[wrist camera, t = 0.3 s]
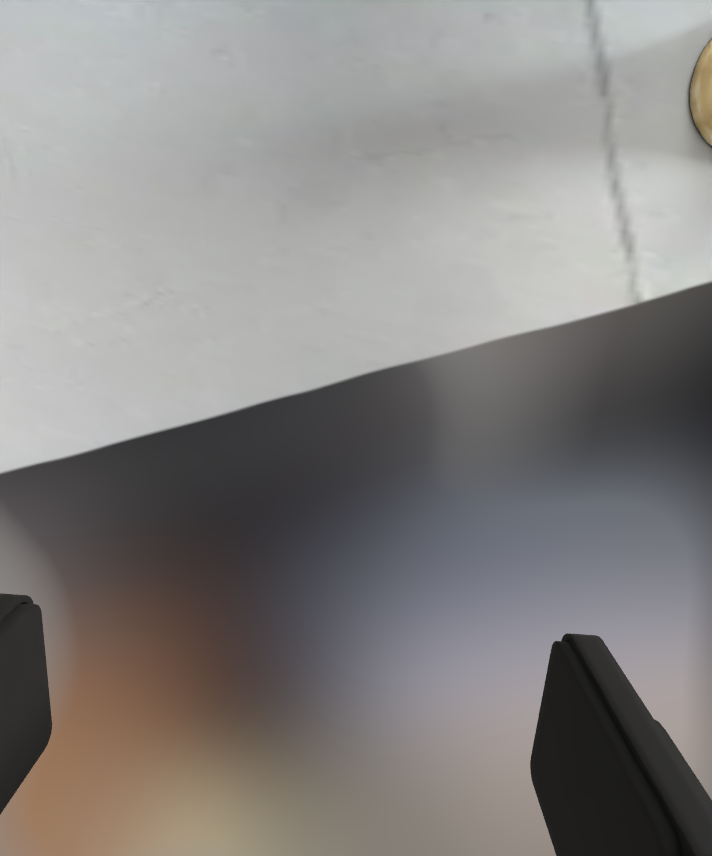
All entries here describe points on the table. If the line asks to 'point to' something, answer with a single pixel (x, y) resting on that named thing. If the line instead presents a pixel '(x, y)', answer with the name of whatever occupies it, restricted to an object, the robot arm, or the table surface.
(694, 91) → the hand bell
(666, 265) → the table surface
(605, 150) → the table surface
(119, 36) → the table surface
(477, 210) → the table surface
